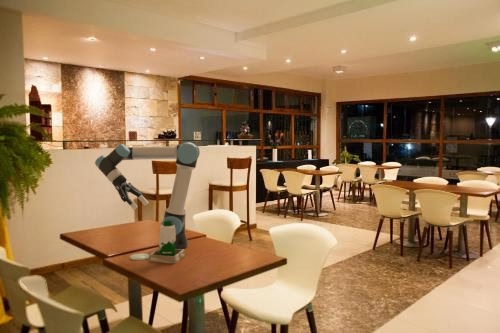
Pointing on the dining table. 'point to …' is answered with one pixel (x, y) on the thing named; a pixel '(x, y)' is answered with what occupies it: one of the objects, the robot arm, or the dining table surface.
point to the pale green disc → (139, 257)
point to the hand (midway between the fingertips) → (141, 206)
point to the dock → (166, 259)
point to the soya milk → (167, 239)
